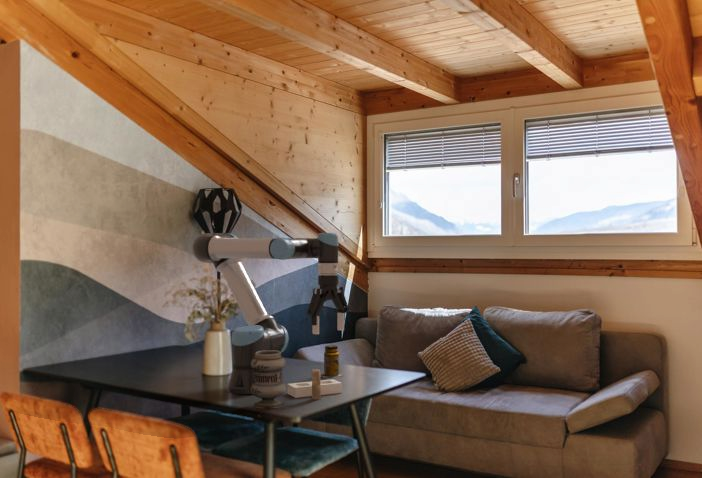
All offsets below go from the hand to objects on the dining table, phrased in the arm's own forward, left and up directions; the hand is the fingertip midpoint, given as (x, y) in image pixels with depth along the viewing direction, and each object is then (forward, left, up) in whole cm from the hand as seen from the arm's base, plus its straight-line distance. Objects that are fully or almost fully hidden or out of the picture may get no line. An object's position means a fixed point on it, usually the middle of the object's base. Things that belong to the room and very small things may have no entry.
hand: (328, 332), depth 264 cm
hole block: (-7, -3, -21) cm, 23 cm away
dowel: (-10, -12, -21) cm, 26 cm away
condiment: (+11, +26, -21) cm, 35 cm away
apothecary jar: (-28, -14, -21) cm, 38 cm away
